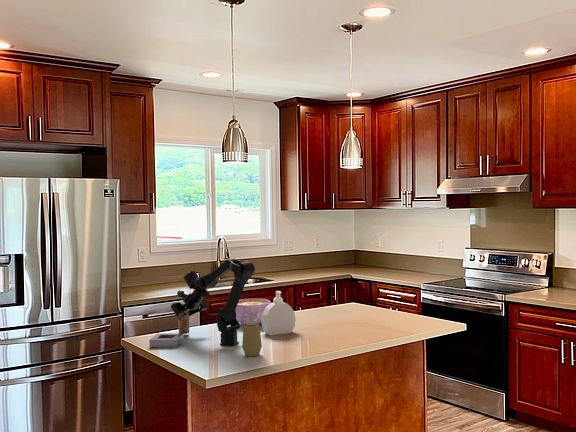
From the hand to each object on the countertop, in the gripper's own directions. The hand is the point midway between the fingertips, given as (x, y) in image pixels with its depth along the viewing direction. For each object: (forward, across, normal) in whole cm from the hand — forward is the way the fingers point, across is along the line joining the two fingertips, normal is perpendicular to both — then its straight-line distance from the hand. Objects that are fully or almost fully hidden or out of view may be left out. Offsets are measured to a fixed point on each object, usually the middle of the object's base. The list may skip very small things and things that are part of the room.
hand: (181, 317), depth 278 cm
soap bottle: (-20, -28, +32) cm, 47 cm away
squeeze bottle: (-31, +8, +43) cm, 53 cm away
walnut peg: (+4, 0, +6) cm, 7 cm away
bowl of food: (-2, -36, +14) cm, 39 cm away
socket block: (0, +16, +12) cm, 20 cm away
